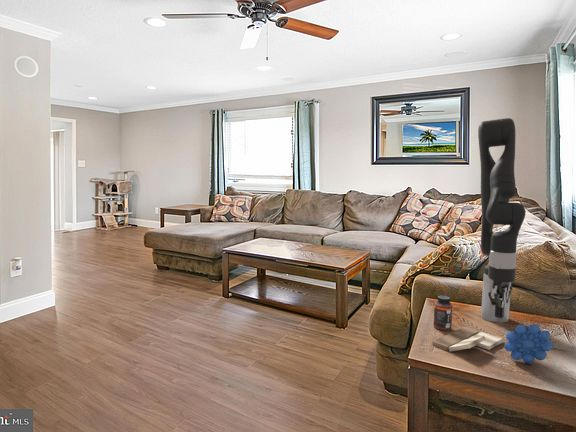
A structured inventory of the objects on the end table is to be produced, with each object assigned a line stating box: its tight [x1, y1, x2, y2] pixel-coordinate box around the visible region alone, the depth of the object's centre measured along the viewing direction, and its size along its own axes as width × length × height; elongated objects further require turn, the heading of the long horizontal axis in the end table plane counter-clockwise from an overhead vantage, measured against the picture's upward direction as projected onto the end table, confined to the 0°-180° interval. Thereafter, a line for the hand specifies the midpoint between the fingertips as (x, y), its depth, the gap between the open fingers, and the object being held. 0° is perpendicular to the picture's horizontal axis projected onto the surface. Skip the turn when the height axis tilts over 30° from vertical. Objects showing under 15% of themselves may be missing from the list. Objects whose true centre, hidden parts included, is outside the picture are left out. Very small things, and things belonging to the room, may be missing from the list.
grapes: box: [503, 323, 554, 365], centre depth 105 cm, size 12×7×12 cm, turn 60°
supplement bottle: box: [433, 295, 453, 331], centre depth 129 cm, size 6×6×11 cm
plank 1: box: [448, 336, 486, 352], centre depth 112 cm, size 10×7×1 cm
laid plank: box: [432, 326, 480, 352], centre depth 120 cm, size 21×5×1 cm, turn 127°
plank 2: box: [468, 331, 504, 351], centre depth 118 cm, size 10×7×1 cm
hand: (499, 317), depth 117 cm, fingers closed
